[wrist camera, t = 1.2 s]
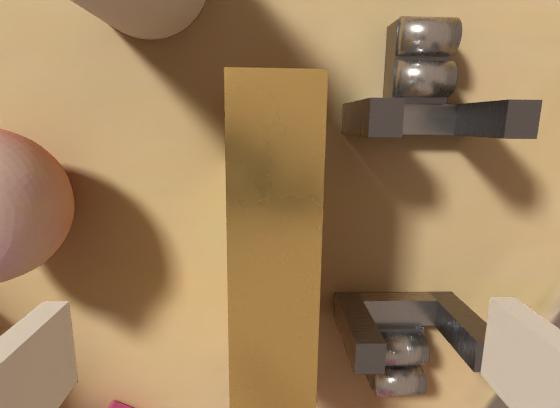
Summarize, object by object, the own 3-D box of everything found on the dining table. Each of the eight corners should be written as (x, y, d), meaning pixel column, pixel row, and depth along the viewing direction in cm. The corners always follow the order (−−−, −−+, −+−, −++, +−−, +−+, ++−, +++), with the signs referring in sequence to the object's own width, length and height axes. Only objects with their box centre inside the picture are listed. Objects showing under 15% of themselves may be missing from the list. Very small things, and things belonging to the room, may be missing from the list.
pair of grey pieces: (331, 375, 31) (350, 446, 24) (346, 24, 26) (376, -11, 19) (442, 372, 31) (492, 442, 25) (480, 27, 26) (557, -7, 19)
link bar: (241, 328, 30) (230, 427, 20) (238, 87, 26) (223, 66, 17) (298, 327, 30) (315, 425, 20) (304, 88, 27) (328, 68, 17)
